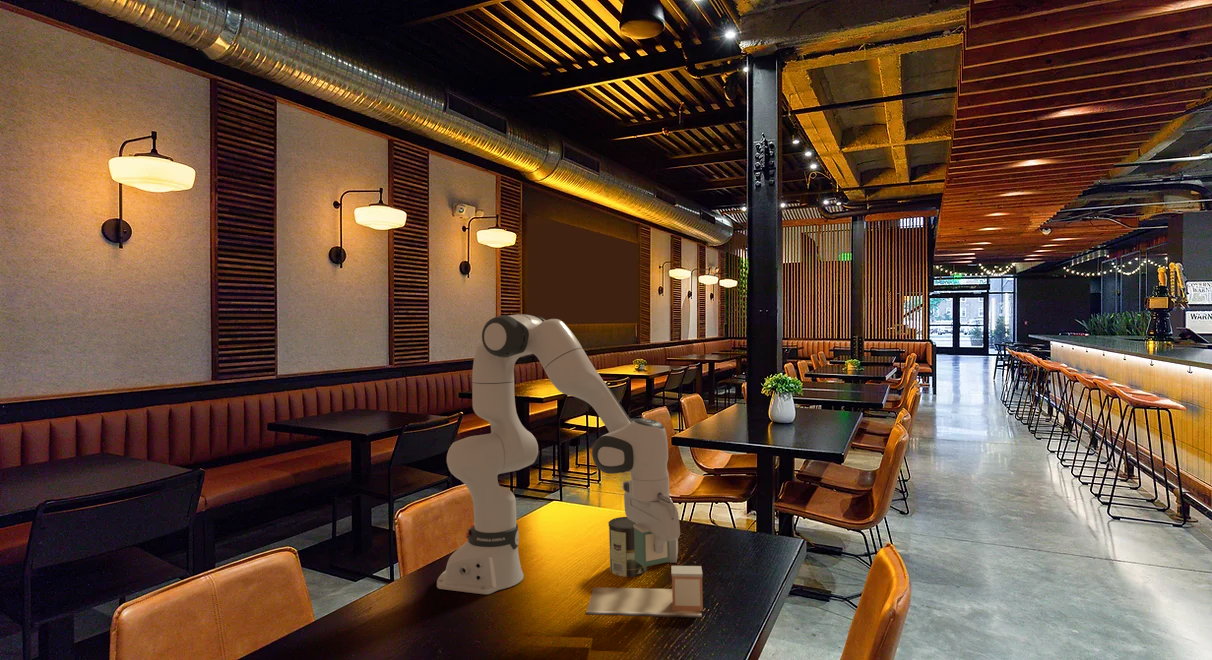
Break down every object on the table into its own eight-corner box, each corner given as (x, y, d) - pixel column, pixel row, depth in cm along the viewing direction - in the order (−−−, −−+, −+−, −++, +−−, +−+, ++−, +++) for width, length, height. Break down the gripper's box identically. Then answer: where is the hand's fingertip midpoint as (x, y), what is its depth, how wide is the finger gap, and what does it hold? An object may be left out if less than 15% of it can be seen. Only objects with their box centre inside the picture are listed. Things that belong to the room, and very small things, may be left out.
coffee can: (650, 568, 162) (648, 516, 162) (645, 583, 152) (643, 529, 152) (613, 565, 164) (612, 515, 164) (606, 581, 154) (604, 527, 154)
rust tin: (672, 601, 138) (671, 565, 139) (702, 602, 138) (701, 566, 138) (672, 610, 134) (671, 573, 134) (703, 611, 133) (702, 574, 133)
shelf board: (586, 620, 133) (585, 612, 133) (593, 593, 147) (593, 586, 147) (702, 624, 130) (701, 615, 130) (698, 595, 144) (698, 588, 144)
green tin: (634, 560, 138) (633, 524, 138) (659, 555, 141) (659, 520, 141) (643, 567, 134) (642, 530, 134) (670, 561, 136) (669, 525, 137)
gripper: (686, 497, 129) (687, 560, 129) (641, 478, 148) (643, 533, 148) (661, 501, 127) (663, 566, 126) (619, 481, 145) (620, 537, 145)
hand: (651, 548), depth 137 cm, fingers closed on green tin, 5 cm apart
